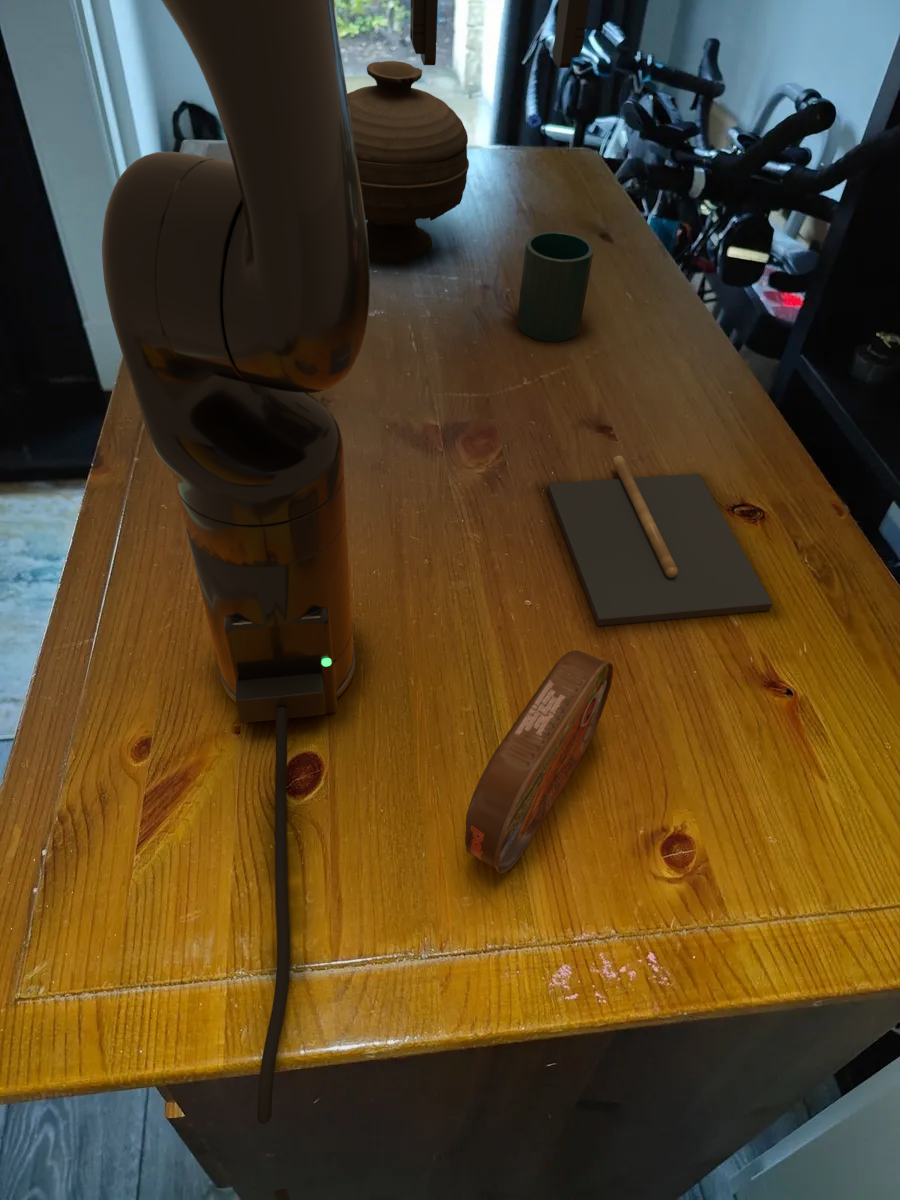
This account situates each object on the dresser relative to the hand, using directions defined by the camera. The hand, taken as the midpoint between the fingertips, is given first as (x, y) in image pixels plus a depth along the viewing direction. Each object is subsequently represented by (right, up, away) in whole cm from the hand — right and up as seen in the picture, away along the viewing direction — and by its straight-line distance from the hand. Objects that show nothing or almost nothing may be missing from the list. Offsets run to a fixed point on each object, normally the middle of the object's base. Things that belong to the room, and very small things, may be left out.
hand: (495, 63), depth 53 cm
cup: (+8, -3, +41) cm, 42 cm away
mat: (+14, -29, +17) cm, 37 cm away
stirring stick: (+13, -26, +18) cm, 35 cm away
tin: (+2, -46, +1) cm, 46 cm away
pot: (-10, +11, +53) cm, 55 cm away
